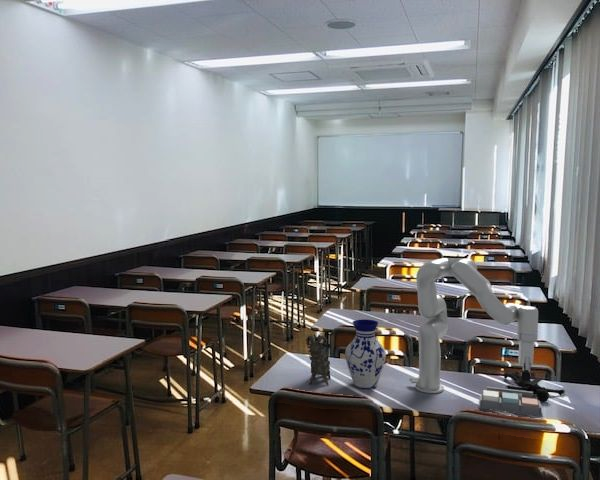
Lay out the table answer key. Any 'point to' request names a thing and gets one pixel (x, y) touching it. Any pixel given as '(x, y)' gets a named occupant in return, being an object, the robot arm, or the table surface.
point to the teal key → (509, 398)
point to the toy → (531, 387)
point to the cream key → (491, 395)
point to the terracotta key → (529, 401)
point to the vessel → (319, 357)
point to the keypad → (508, 406)
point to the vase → (365, 355)
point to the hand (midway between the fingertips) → (525, 380)
